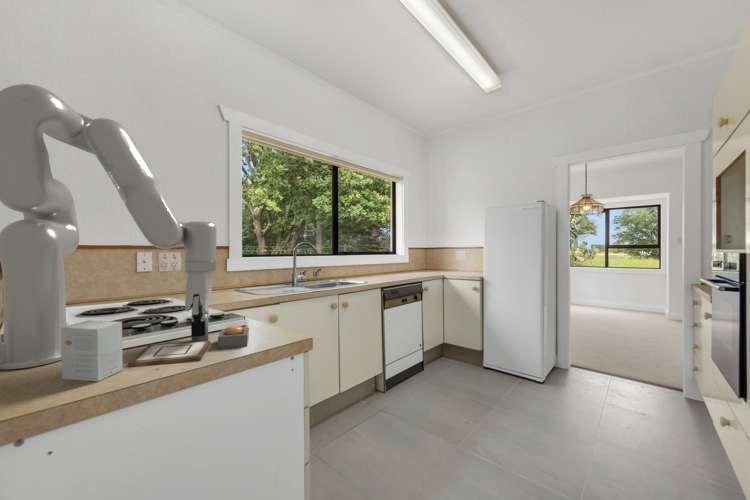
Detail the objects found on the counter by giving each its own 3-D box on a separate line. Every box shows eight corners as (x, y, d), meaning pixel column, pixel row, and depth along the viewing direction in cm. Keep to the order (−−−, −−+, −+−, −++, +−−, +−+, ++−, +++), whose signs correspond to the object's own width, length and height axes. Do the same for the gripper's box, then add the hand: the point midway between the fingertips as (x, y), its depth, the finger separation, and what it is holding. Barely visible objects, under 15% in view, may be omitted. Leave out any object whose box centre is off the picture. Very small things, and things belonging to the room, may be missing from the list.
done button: (225, 337, 82) (225, 330, 82) (227, 333, 86) (227, 326, 86) (241, 336, 84) (241, 329, 84) (242, 332, 87) (242, 325, 87)
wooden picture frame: (128, 366, 68) (128, 362, 68) (148, 348, 79) (148, 344, 79) (200, 360, 73) (200, 356, 73) (210, 343, 84) (210, 340, 84)
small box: (123, 370, 66) (123, 321, 66) (97, 382, 60) (97, 328, 60) (89, 368, 67) (89, 319, 66) (60, 379, 61) (60, 326, 61)
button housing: (217, 348, 80) (217, 336, 80) (221, 340, 87) (221, 329, 87) (247, 346, 83) (247, 335, 83) (248, 338, 89) (248, 327, 89)
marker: (189, 344, 83) (190, 306, 83) (193, 339, 87) (193, 303, 87) (206, 342, 85) (207, 306, 84) (209, 338, 88) (209, 303, 88)
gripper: (192, 264, 92) (191, 326, 92) (176, 270, 76) (175, 344, 77) (220, 264, 94) (219, 324, 95) (210, 270, 78) (209, 342, 79)
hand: (200, 332), depth 86 cm, fingers closed on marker, 4 cm apart
